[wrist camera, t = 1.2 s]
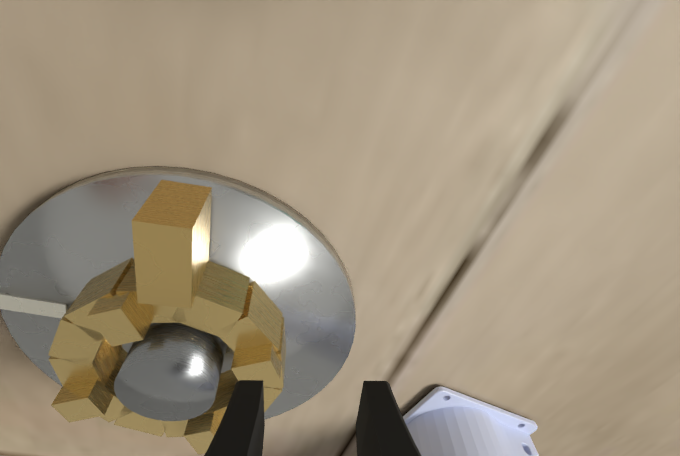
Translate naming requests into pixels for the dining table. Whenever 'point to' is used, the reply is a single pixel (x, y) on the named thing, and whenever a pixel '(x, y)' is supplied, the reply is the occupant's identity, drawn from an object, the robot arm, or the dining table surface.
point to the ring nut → (166, 317)
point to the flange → (175, 338)
